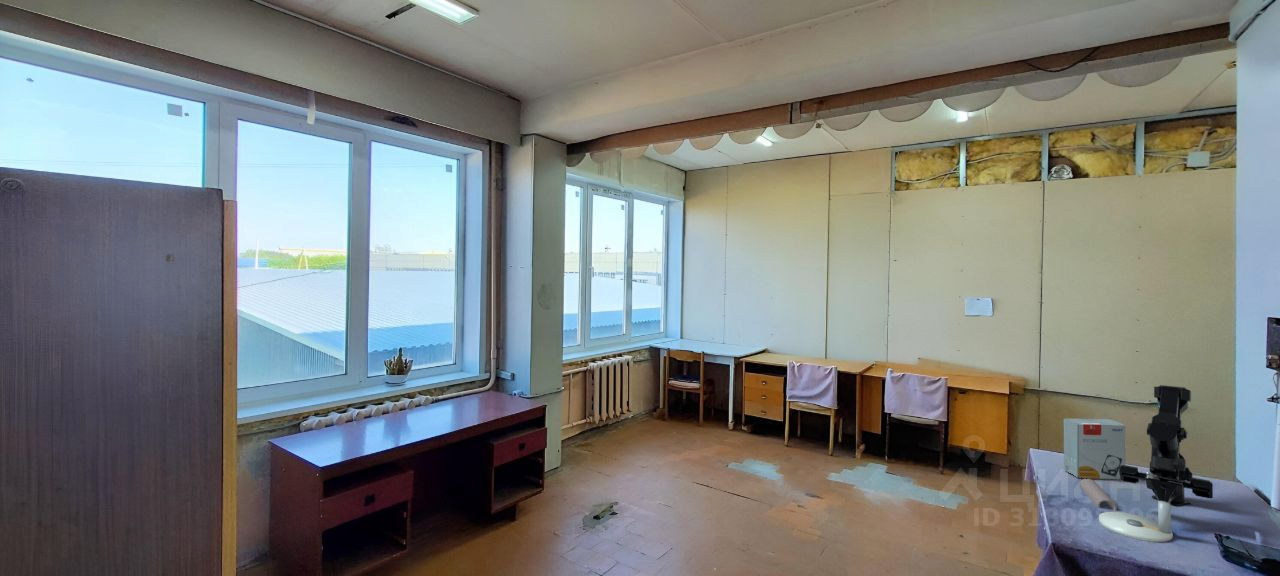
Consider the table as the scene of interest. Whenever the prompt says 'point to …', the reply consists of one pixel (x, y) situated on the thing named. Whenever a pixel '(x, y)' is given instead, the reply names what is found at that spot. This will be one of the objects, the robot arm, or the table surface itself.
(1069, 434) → the hard drive box
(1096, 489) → the coil
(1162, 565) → the table surface
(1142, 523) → the desk lamp base
